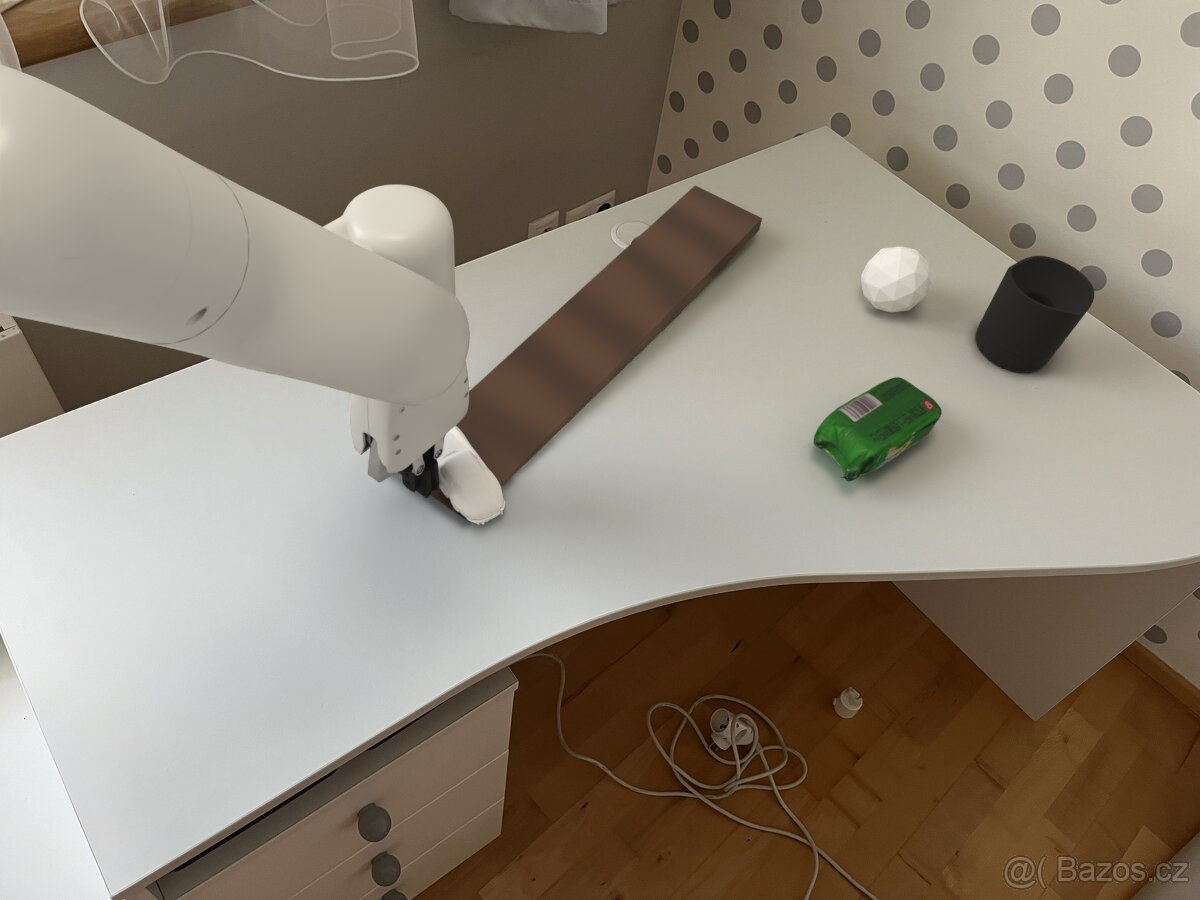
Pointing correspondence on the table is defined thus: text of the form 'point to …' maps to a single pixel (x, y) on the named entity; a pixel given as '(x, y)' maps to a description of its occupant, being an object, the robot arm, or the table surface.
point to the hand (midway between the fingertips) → (420, 484)
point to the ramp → (600, 331)
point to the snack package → (877, 426)
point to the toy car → (468, 480)
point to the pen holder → (1033, 313)
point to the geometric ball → (896, 279)
